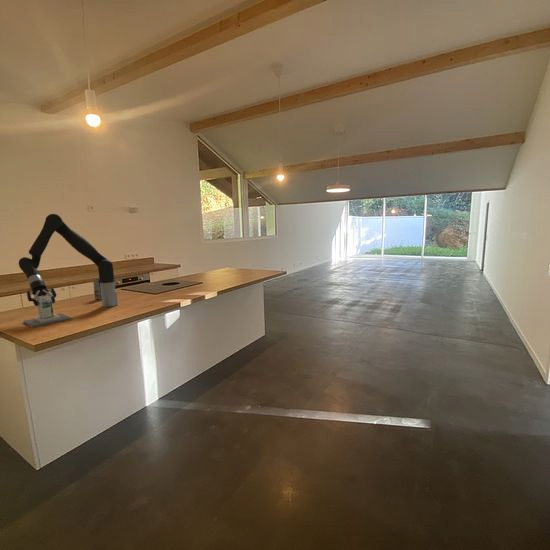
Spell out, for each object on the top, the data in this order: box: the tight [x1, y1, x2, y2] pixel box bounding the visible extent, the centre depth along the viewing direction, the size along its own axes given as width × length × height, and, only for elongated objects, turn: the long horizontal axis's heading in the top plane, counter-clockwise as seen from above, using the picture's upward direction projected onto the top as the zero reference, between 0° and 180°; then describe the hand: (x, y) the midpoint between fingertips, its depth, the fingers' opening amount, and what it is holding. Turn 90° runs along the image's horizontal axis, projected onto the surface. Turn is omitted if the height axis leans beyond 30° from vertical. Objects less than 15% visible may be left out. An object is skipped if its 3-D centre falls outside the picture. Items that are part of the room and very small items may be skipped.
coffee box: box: [92, 278, 102, 301], centre depth 258 cm, size 9×6×16 cm
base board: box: [22, 313, 73, 328], centre depth 197 cm, size 20×18×3 cm
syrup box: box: [36, 294, 54, 320], centre depth 196 cm, size 6×6×14 cm
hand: (45, 304), depth 196 cm, fingers open, 8 cm apart
